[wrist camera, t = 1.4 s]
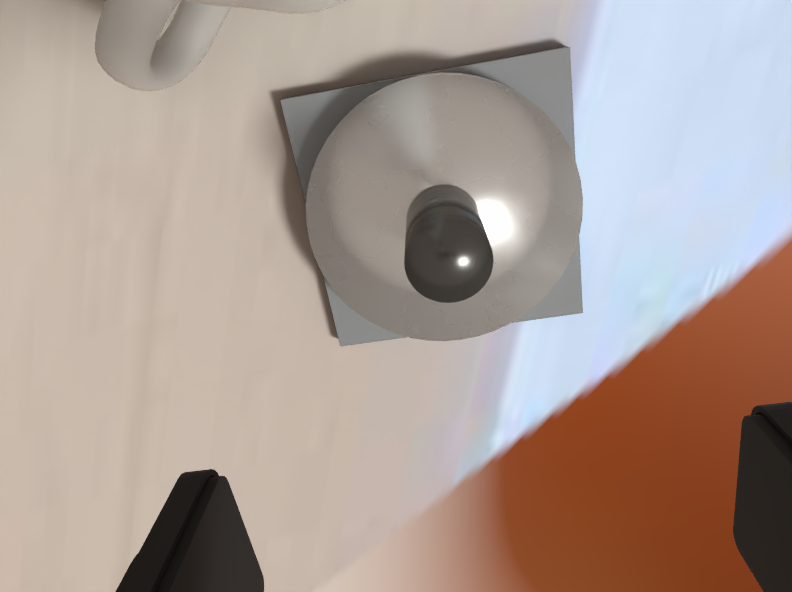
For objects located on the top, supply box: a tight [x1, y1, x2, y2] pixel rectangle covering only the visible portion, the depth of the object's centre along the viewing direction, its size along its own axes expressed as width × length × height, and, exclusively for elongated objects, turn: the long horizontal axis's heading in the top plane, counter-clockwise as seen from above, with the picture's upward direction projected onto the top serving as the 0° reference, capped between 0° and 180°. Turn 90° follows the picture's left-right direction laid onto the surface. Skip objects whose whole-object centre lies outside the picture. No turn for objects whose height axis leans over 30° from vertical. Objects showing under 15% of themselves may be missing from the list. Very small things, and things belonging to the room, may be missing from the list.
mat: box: [280, 47, 583, 346], centre depth 27 cm, size 12×12×1 cm
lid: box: [306, 72, 583, 341], centre depth 24 cm, size 12×12×6 cm
